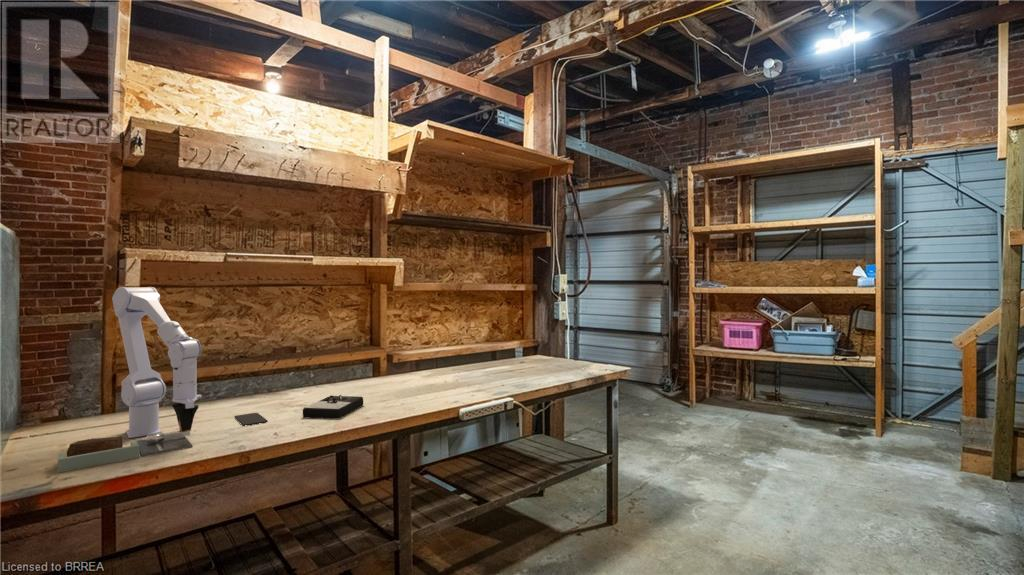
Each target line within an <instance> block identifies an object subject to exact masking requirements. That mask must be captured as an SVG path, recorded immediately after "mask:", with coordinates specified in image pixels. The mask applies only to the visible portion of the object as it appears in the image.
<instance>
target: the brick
mask: <svg viewBox="0 0 1024 575" xmlns="http://www.w3.org/2000/svg"><path fill="white" fill-rule="evenodd" d="M122 447H124V445H123V437H122V436H110V437H108V436H107V437H99V438H90V439H88V438H87V439H85V440H78V441H75V442H73V443H70V444H69V446H68V447H67V450H66V457H70V456H76V455H82V454H87V453H93V452H99V451H105V450H110V449H116V448H122Z"/></svg>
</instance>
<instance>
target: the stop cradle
mask: <svg viewBox="0 0 1024 575" xmlns="http://www.w3.org/2000/svg"><path fill="white" fill-rule="evenodd" d="M137 441H138V440H133V441H130V445H129V446H123V447H122V448H116V449H110V450H105V451H99V452H93V453H87V454H82V455H76V456H70V457H67V456H66V452H62V453H61V452H60V453H58V454H57V457H58V458H57V473H63V472H69V471H73V470H79V469H84V468H88V467H94V466H100V465H105V464H112V463H115V462H120V461H126V460H130V459H131V460H132V459H136V458H140V450H139V445H138V443H137Z"/></svg>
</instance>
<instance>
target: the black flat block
mask: <svg viewBox="0 0 1024 575" xmlns="http://www.w3.org/2000/svg"><path fill="white" fill-rule="evenodd" d="M362 405H363V406H364V397H363V396H347V395H342V394H340V395H329V396H327V397H324V398H323V399H320V400H318V401H316V402H314V403H311V404H309V405H306V406H304V407H303V409H302V418H303V417H311V418H310V419H326V418H340V417H342V416H343V417H345V416H346V414H347V413H349V412H351V411H352V412H354V411H356V410H358V409H359V408H358V407H360V406H361V407H363V406H362ZM361 407H360V408H361ZM357 408H358V409H357ZM355 409H356V410H355ZM353 410H354V411H353ZM352 412H351V413H352ZM349 414H350V413H349ZM344 415H345V416H344ZM347 415H348V414H347ZM343 417H342V418H343ZM340 419H341V418H340Z"/></svg>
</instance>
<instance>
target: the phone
mask: <svg viewBox="0 0 1024 575" xmlns="http://www.w3.org/2000/svg"><path fill="white" fill-rule="evenodd" d="M234 417H235V418H236V419H237V420H238V421H239V422H240V423H241V424H242V425H244V426H243V427H246V426H245V425H250V426H253V425H252V424H256V425H260V424H259V423H262V424H267V423H268V420H267V419H266V418H265V417H264V416H262V415H261V414H259V413H258V412H251V413H244V414H237V415H234ZM235 418H234V419H235ZM236 419H235V420H236ZM237 420H236V421H237ZM238 421H237V422H238ZM239 422H238V423H239ZM266 422H267V423H266ZM240 423H239V424H240ZM241 424H240V425H241ZM242 425H241V426H242Z"/></svg>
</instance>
